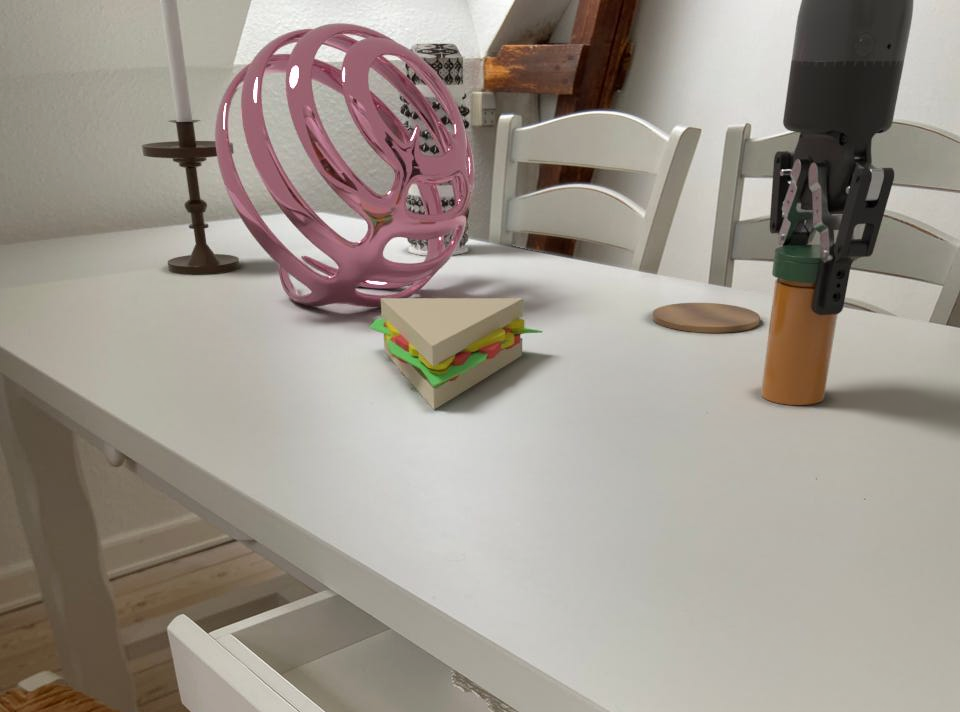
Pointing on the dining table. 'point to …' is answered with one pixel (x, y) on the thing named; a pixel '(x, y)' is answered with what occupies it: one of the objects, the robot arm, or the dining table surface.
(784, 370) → the jar
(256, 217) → the spiral basket
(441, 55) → the decorative candle
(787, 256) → the lid
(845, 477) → the dining table surface
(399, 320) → the sandwich
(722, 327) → the coaster
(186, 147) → the candlestick
